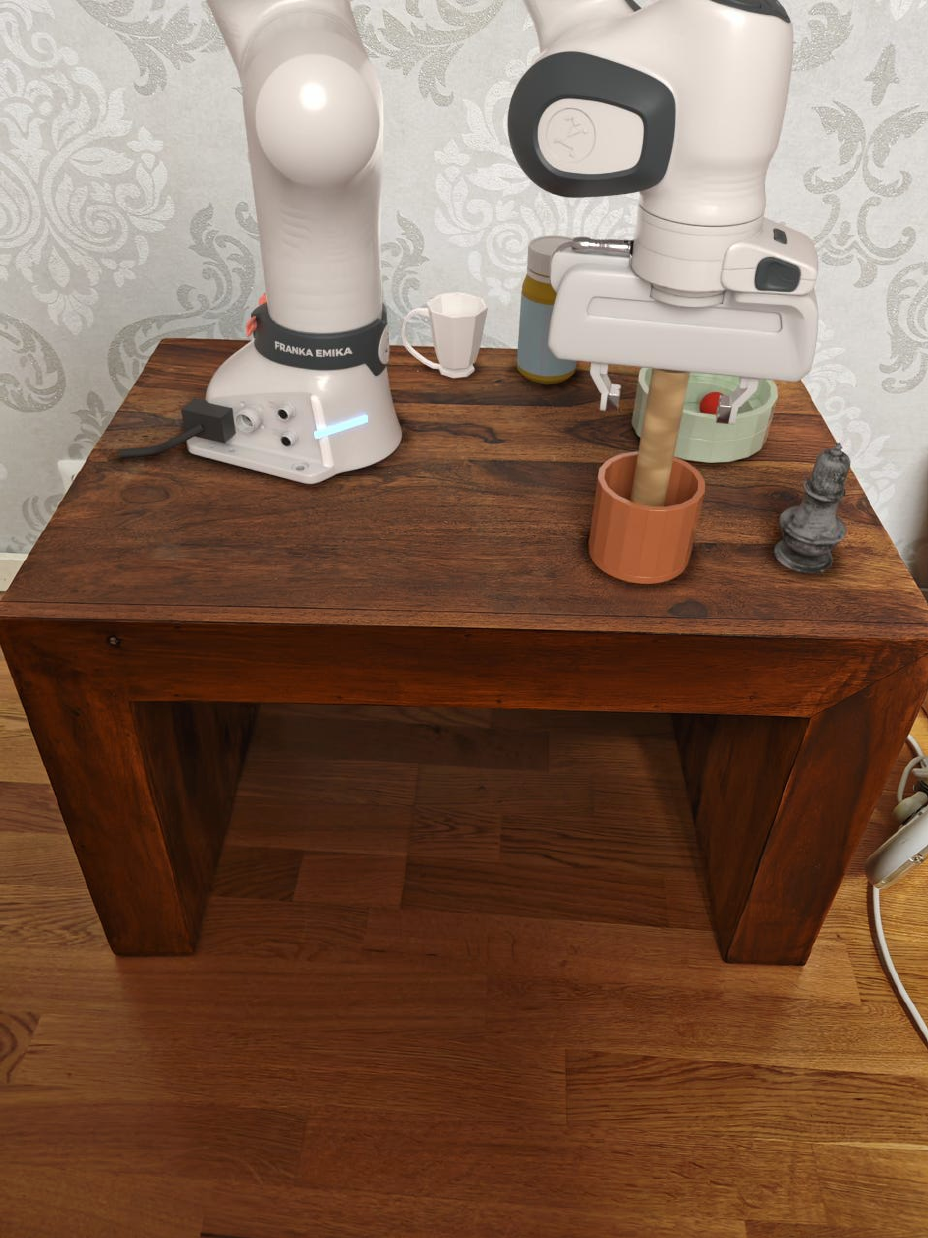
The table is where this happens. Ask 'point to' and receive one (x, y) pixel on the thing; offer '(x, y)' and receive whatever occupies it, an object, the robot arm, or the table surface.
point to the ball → (710, 403)
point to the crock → (644, 523)
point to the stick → (659, 436)
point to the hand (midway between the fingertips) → (666, 414)
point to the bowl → (714, 419)
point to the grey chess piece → (815, 516)
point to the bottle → (540, 316)
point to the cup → (453, 332)
